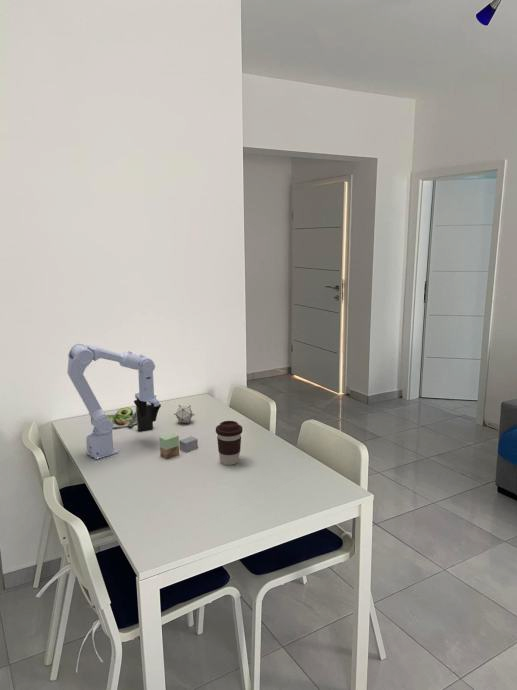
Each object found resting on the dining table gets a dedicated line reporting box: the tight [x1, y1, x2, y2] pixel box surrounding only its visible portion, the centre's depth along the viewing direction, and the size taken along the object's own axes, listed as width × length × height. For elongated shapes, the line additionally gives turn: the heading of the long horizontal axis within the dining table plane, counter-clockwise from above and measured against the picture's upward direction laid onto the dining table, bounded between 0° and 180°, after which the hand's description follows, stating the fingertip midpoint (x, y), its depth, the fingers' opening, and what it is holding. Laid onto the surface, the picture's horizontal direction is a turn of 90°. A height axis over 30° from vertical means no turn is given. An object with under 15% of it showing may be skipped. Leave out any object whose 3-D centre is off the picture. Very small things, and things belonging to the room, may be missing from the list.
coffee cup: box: [215, 420, 243, 466], centre depth 197 cm, size 10×10×15 cm
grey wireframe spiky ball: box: [173, 404, 195, 425], centre depth 237 cm, size 9×8×10 cm
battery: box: [135, 403, 154, 432], centre depth 229 cm, size 7×4×11 cm, turn 115°
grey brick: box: [179, 435, 199, 453], centre depth 210 cm, size 6×4×4 cm, turn 135°
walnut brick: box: [159, 446, 180, 460], centre depth 203 cm, size 6×4×4 cm, turn 134°
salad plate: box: [106, 406, 137, 430], centre depth 238 cm, size 19×18×5 cm
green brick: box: [159, 432, 180, 450], centre depth 202 cm, size 6×4×4 cm, turn 133°
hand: (147, 418), depth 213 cm, fingers open, 7 cm apart
